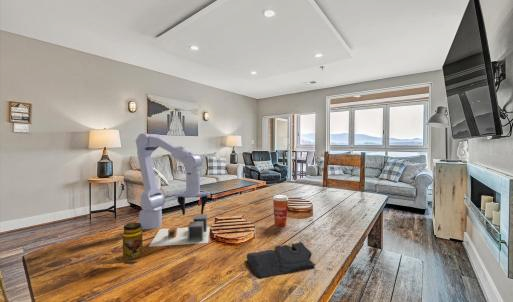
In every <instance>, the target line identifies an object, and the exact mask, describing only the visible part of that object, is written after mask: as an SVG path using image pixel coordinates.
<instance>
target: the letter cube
mask: <svg viewBox="0 0 513 302" xmlns="http://www.w3.org/2000/svg"><path fill="white" fill-rule="evenodd" d="M177 228H178V227H169V228H168V229H169V230H168V238H170V237H176V235H177Z"/></svg>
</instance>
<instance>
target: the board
mask: <svg viewBox="0 0 513 302" xmlns="http://www.w3.org/2000/svg"><path fill="white" fill-rule="evenodd" d="M210 227H211V226H210V225H209V226H208V225H207V231H206V232H205V228H204V236H203V241H201V236H191V239H190V241H188V227H177V235H176V237H170V238H168V230H169V228H160V229H159V230H158V232H157V234H156V235H155V236H154V238H153V239H152V241H151V242H150V244H149V245H148V248H149V247H150V248H151V247H164V246H179V245H180V246H181V245H194V244H196V245H197V244H208V243H209V239H210Z"/></svg>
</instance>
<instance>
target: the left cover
mask: <svg viewBox="0 0 513 302" xmlns="http://www.w3.org/2000/svg"><path fill="white" fill-rule="evenodd" d="M187 228H188V241H190V239H191V236H201V241H203V236H204V221H197V222H194V221H189V224H188V226H187Z"/></svg>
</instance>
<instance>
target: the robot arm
mask: <svg viewBox="0 0 513 302" xmlns="http://www.w3.org/2000/svg"><path fill="white" fill-rule="evenodd" d="M135 144H136V145H135V146H136V149H137V150H136V155H137V159H138V163H139V169H140V173H141V179H142V184H143V188H144V189H143V192H142V193H141V194H140V202H139V203H140V208H141V210H140V211H139V213H138V223H140V224H141V230H156V229H159V228H161V227H162V225H163V224H162V223H163V222H162V221H163V219H162V218H163V216H162V213H163V212H162V209H163V206H164V205H165V203H166V198H165V196H164V194H163V190H162V189H161V188H159V187H158V185H157V179H156V175H155V169H154V165H153V159H152V154H153V153H154V152H155V151H157V149H158V148H160V149H162V150H165V151H167V152H168V153H171V156H172V158H174V159H175V160H176V161H178V162H180V163H182V165H183V167H184V170H185V171H184V172H185V191H182V192H176V193H175V194H174V199H177V203H178V204H179V206H180V209H181V212H182V216H185V214H186V198H187V199H188V198H191V199H192V198H200V200H201V210H200V215H203V214H204V210H205V205H206V204H207V203H206V202H207V200H208V198H211V192H210V191H200V189H201V188H200V187H201V173H200V172H201V170H200V169H201V166H202V165H203V158H202V157H201V156H200V155H199V154H198V153H197V154H196V153H195V154H194V153H193V152H192V151H189V150H188V149H186V148H185V146H183V145H181V146H180V145H178V146H176V145H175V144H173V143H172V142H170V141H168V140H167V139H165V138H164V136H162V135H160V134H158V133H155V134H153V133H140V134H138V136H137V137H136V139H135Z"/></svg>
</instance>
